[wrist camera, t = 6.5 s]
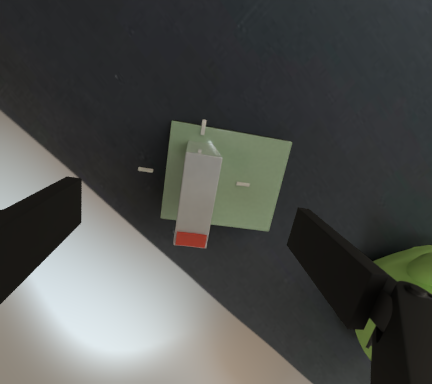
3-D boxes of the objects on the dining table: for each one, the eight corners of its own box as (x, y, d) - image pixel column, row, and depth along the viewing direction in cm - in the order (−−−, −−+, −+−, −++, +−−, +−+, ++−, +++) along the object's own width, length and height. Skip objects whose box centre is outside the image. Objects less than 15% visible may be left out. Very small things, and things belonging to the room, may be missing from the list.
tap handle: (188, 140, 23) (185, 152, 15) (213, 144, 23) (223, 158, 16) (178, 207, 25) (172, 247, 17) (202, 210, 25) (206, 250, 18)
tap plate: (140, 209, 28) (133, 221, 25) (149, 109, 24) (143, 108, 21) (260, 224, 30) (268, 237, 27) (283, 133, 26) (295, 136, 23)
